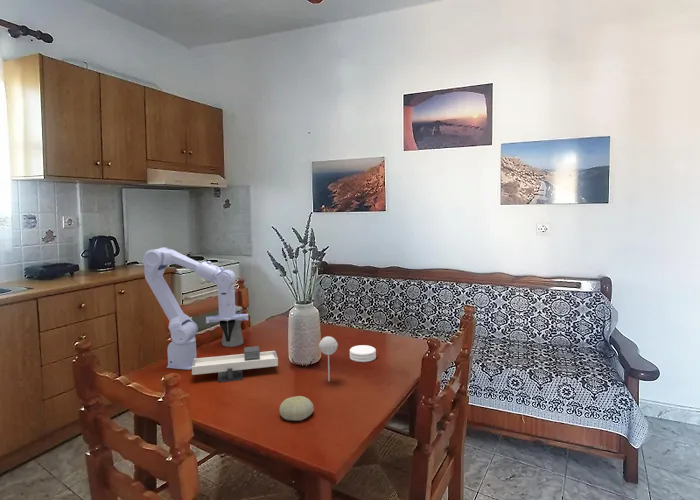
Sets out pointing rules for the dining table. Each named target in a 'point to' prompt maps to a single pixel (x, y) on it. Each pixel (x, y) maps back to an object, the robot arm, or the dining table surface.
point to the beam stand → (230, 375)
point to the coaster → (362, 353)
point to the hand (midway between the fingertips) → (228, 340)
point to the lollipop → (328, 348)
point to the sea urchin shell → (296, 408)
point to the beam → (232, 363)
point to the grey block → (251, 353)
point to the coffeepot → (234, 332)
